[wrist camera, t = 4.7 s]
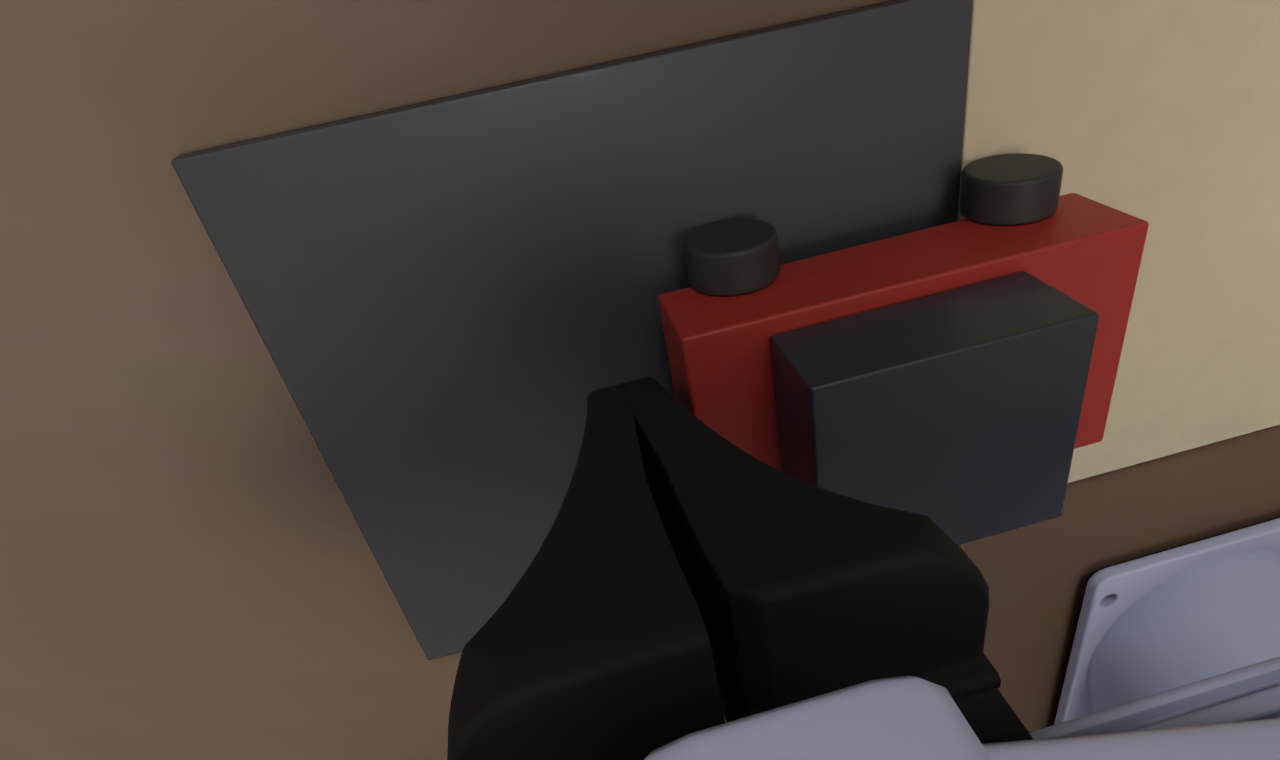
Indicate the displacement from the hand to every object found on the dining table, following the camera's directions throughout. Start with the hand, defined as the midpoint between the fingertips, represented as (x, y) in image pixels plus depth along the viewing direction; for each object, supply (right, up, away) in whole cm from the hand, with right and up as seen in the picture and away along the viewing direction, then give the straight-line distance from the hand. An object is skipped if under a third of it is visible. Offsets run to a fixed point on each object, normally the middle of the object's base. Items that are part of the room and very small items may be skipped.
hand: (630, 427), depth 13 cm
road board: (+6, +2, +2) cm, 6 cm away
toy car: (+5, +2, +1) cm, 5 cm away
